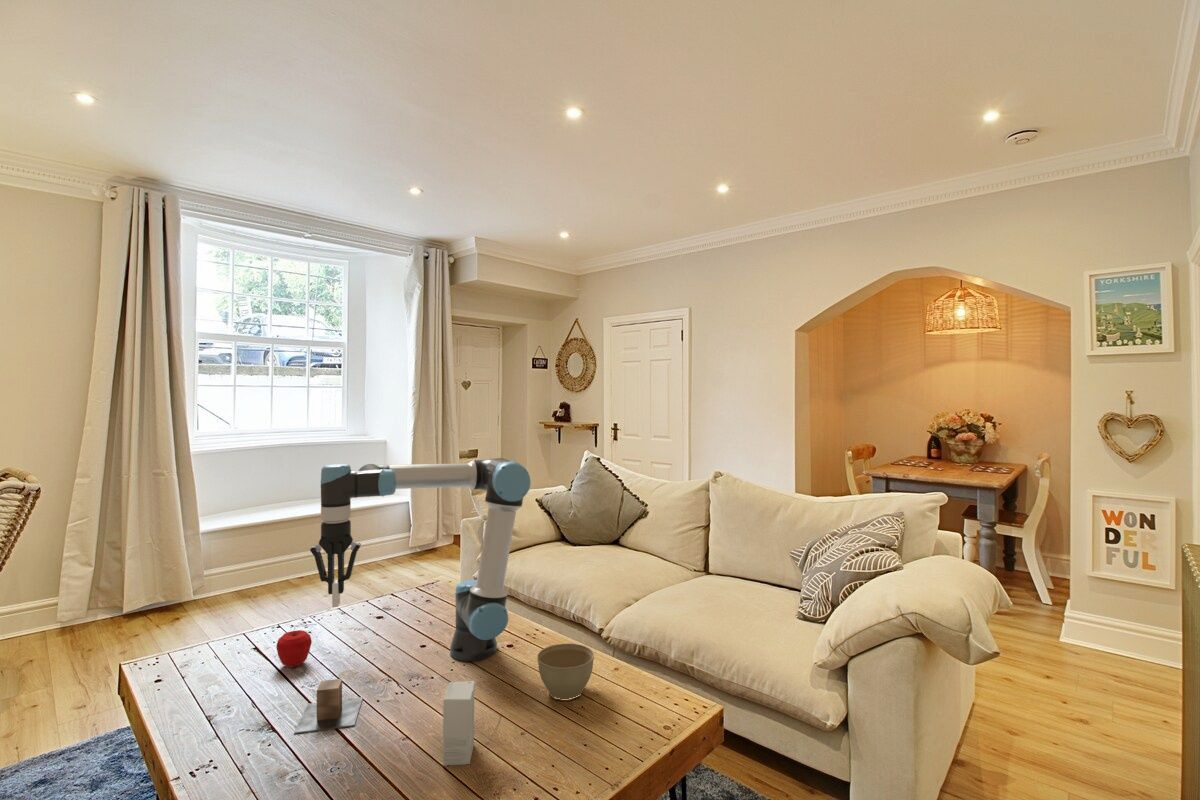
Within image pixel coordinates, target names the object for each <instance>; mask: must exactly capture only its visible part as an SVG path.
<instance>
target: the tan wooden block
mask: <svg viewBox="0 0 1200 800" xmlns="http://www.w3.org/2000/svg"><path fill="white" fill-rule="evenodd" d="M342 700H343V678H337V679H335V678H334V679H329V680H321V681H320V682H319V685H318V687H317V689H316V703H317V721H318V720H326V719H334V718H339V715H340V712H341V709H342Z"/></svg>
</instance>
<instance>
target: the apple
mask: <svg viewBox="0 0 1200 800" xmlns="http://www.w3.org/2000/svg"><path fill="white" fill-rule="evenodd" d="M311 646H312V636H311V634H309V632H307V631H306V630H301V629H300V630H291V631H287V632H285V633H283V634H282V636H280V637H279V638H278V639H277V643H276V646H275V647H276V653H277V656H278V658H279V661H280V662H281V664H282V665H283V666H285V667H287V668H297V667H300V666H301V665H302V664H304V662H305V661H306V660H307V659H308V656H309V653H310V650H311Z"/></svg>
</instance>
